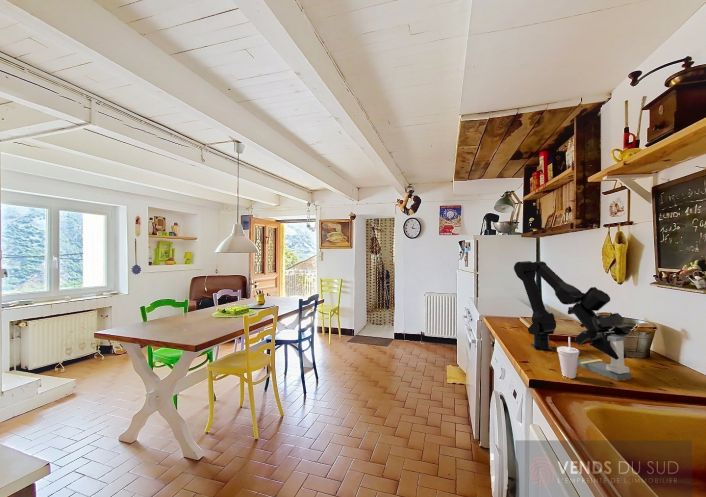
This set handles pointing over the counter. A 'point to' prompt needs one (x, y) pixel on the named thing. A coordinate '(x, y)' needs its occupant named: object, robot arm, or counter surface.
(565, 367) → the smoothie
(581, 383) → the counter surface
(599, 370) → the grey flat slab
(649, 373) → the counter surface
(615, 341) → the white pillar
